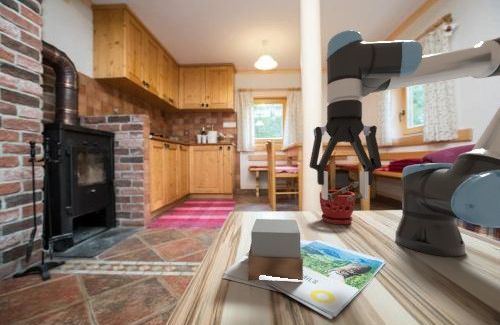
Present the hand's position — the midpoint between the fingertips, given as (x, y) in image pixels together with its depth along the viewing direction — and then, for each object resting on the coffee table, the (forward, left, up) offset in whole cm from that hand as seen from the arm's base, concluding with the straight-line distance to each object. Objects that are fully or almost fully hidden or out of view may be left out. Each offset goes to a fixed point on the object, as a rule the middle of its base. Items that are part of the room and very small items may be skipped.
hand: (344, 198), depth 50 cm
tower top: (+16, +3, -11) cm, 20 cm away
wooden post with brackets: (0, 0, -1) cm, 1 cm away
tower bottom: (+17, +3, -16) cm, 23 cm away
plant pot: (-9, -36, -16) cm, 40 cm away
